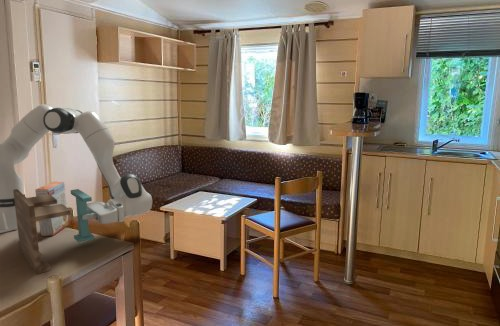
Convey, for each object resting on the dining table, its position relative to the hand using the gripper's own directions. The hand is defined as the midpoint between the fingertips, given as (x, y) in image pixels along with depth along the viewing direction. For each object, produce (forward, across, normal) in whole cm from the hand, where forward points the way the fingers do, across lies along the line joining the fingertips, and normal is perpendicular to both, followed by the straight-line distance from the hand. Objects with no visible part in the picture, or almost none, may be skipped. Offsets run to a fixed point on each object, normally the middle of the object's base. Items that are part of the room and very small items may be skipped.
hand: (80, 216), depth 152 cm
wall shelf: (+13, 0, +13) cm, 18 cm away
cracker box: (+4, -27, +13) cm, 30 cm away
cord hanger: (-1, 0, +10) cm, 10 cm away
